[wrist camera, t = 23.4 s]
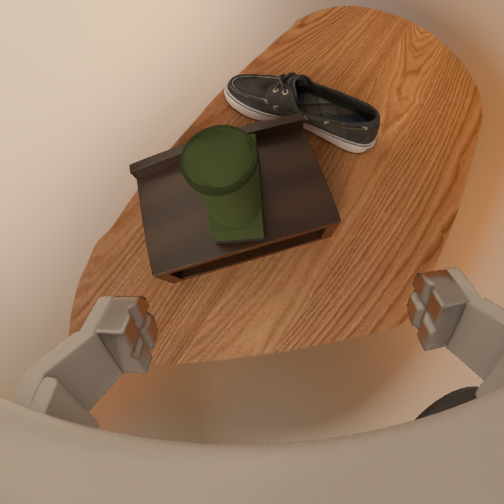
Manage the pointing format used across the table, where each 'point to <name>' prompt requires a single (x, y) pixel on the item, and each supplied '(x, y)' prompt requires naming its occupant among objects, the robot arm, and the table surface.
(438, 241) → the table surface
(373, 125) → the boat shoe
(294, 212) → the shoe bench
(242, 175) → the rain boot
